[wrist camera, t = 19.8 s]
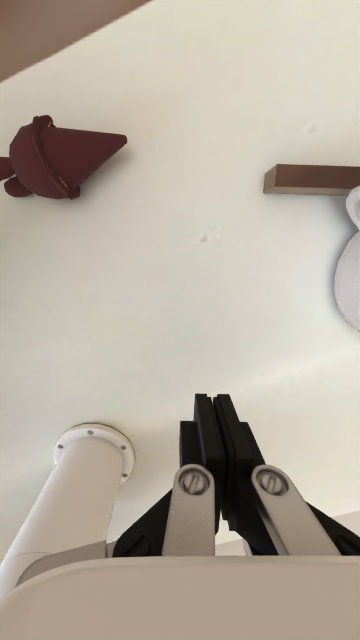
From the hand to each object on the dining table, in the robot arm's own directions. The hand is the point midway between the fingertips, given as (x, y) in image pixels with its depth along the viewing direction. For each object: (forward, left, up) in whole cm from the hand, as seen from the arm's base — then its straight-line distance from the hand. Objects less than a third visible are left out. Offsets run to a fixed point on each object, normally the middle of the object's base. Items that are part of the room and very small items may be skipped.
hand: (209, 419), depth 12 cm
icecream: (+16, +14, -21) cm, 30 cm away
